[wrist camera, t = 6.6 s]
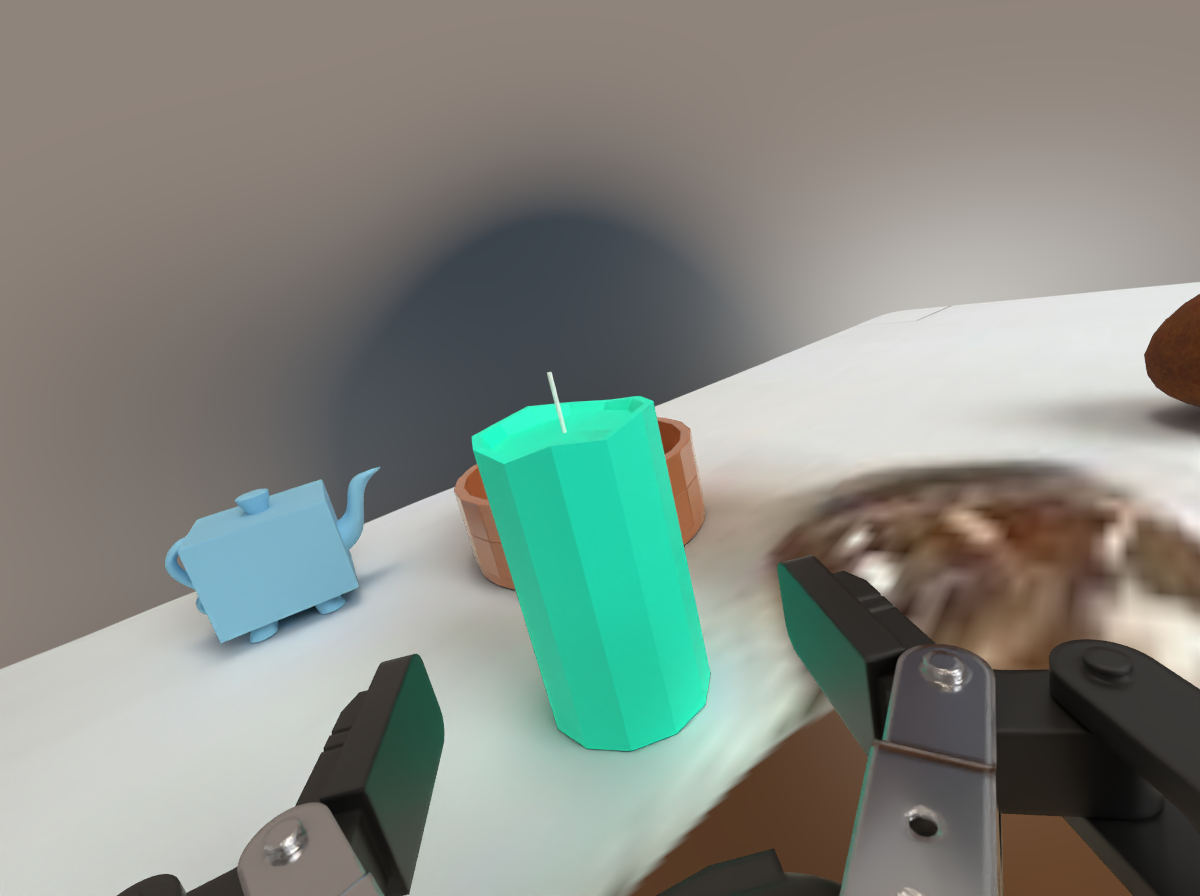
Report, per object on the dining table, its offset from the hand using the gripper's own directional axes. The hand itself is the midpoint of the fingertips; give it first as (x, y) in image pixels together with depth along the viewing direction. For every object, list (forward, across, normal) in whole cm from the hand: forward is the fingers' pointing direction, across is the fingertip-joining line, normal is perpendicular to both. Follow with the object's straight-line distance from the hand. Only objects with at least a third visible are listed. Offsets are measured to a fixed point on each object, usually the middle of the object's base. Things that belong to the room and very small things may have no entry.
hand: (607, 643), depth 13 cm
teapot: (+22, +18, +7) cm, 29 cm away
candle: (+7, 0, +7) cm, 10 cm away
